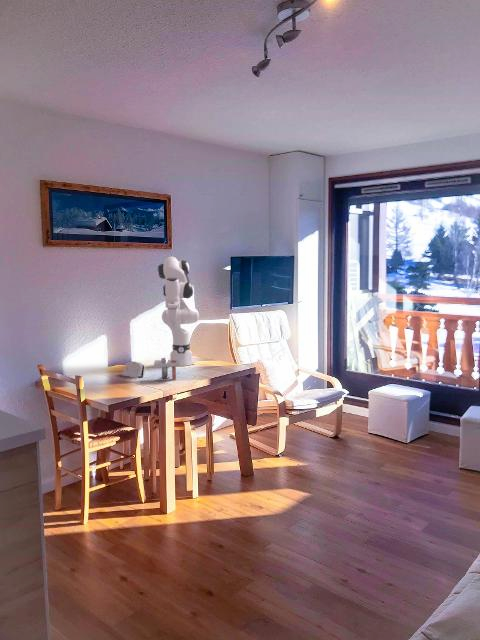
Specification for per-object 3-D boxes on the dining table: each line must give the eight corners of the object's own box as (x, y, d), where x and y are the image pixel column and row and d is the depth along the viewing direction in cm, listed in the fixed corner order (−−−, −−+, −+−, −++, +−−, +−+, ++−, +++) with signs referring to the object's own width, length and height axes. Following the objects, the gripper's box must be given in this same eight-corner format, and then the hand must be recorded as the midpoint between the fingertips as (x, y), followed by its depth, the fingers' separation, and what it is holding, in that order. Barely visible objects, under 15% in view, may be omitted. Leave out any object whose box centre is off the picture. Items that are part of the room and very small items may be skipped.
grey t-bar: (155, 378, 338) (154, 357, 337) (179, 377, 340) (179, 356, 339) (154, 381, 329) (153, 360, 327) (179, 380, 330) (179, 359, 329)
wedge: (172, 379, 336) (171, 359, 334) (175, 378, 336) (175, 359, 335) (172, 379, 333) (171, 360, 332) (175, 379, 334) (175, 360, 332)
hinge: (120, 374, 349) (124, 359, 350) (126, 376, 352) (130, 360, 354) (137, 378, 338) (141, 362, 339) (143, 379, 341) (147, 364, 343)
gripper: (167, 303, 348) (168, 325, 349) (167, 305, 327) (167, 329, 329) (178, 303, 348) (178, 324, 350) (177, 305, 328) (178, 328, 330)
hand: (173, 326), depth 339 cm, fingers open, 8 cm apart
